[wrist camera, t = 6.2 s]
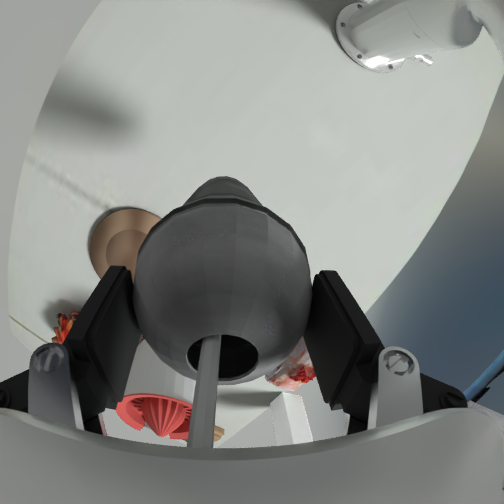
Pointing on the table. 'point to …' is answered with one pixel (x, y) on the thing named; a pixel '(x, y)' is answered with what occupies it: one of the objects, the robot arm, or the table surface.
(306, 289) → the beverage cup
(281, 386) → the food item
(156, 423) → the citrus juicer
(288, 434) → the milk
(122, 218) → the brown round plate
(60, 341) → the dragon fruit
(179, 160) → the table surface
